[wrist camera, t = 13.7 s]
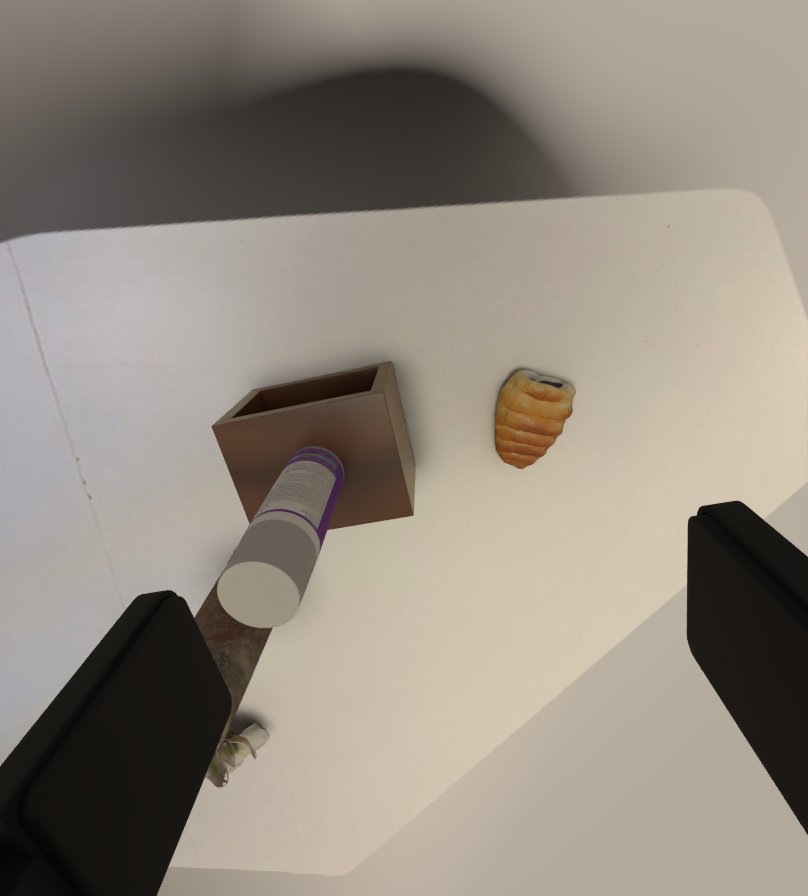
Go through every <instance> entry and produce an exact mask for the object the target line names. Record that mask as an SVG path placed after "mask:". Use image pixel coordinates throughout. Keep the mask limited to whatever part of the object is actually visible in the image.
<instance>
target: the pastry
mask: <svg viewBox="0 0 808 896" xmlns="http://www.w3.org/2000/svg"><path fill="white" fill-rule="evenodd" d="M575 394H576V390H575V388H574V387H573V386H572V385H571V384H567V383H563V382H561V381H560V380H559V379H556V378H553V377H546V376H539V375H537V374H536V373H535V372H533V371H528V370H520V371H517V372H516V373H515V374H513V375H512V376H511V377H510V379H509V380H508V382H507V383H506V384H505V385H504V387H503V388H502V389H501V391H500V394H499V400H498V405H497V410H496V414H495V445H496V451H497V453H498V454H499V456H500V457H501V459H502V460H503V461H504V462H505V463H508V464H510V465H513V466H515V467H516V468H519V469H523V468H525V467H526V466H529V465H532V464H533V463H535V462H536V460H537V459H538V458H540V457H542V456H544V455H545V454H546V452H547V449H548V448H549V447H550V446H552V445H553V444H554V443H555V440H556V438H557V436H559V435H560V434H561V433H562V431H563V426H564V423H565V420H566V419H567V418H569V417H570V416H571V414H572V411H573V409H572V401H573V397H574V395H575Z"/></svg>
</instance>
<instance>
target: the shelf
mask: <svg viewBox="0 0 808 896" xmlns="http://www.w3.org/2000/svg"><path fill="white" fill-rule="evenodd" d="M212 429H213V431H214V434H215V436H216V439H217V441H218V444H219V447H220V449H221V452H222V454H223V457H224V459H225V462H226V464H227V467H228V470H229V472H230V475H231V477H232V480H233V482H234V485H235V487H236V490H237V493H238V495H239V498H240V500H241V503H242V505H243V508H244V510H245V513H246V515H247V518H248V521H249V523H251V521H252V520H253V518H254V516H255V515H256V513H257V512H258V510H259V508H260V507H261V505H262V503H263V502H264V500H265V498H266V497H267V495H268V494H269V492H270V490H271V489H272V487H273V485H274V484H275V482H276V481H277V479H278V477H279V476H280V474H281V472H282V471H283V469H284V468H285V466H286V464H287V463H288V461H289V460H290V458H291V457H292V455H293V454H294V453H295V452H297V451H298V450H300V449H302V448H304V447H309V446H318V447H323V448H325V449H328V450H330V451H331V452H333V453H334V454H335V455H336V456H337V457H338V458H339V460H340V461H341V463H342V465H343V468H344V480H343V484H342V487H341V490H340V493H339V496H338V499H337V502H336V505H335V508H334V511H333V514H332V517H331V520H330V523H329V526H328V529H327V530H330V529H336V528H342V527H348V526H354V525H360V524H366V523H372V522H378V521H384V520H390V519H396V518H402V517H408V516H413V515H414V492H415V466H416V464H415V460H414V455H413V451H412V447H411V442H410V438H409V433H408V429H407V425H406V420H405V416H404V412H403V407H402V403H401V398H400V394H399V390H398V385H397V381H396V376H395V372H394V368H393V363H392V362H387V363H382V364H377V365H372V366H367V367H362V368H357V369H353V370H348V371H343V372H338V373H333V374H328V375H323V376H318V377H314V378H309V379H304V380H299V381H294V382H289V383H284V384H280V385H275V386H270V387H265V388H260V389H255V390H252V391H251V392H250V393H249V394H247V395H246V396H245V397H244V398H243V399H242V400H241V401H240V402H238V403H237V404H236V405H235V406H234V407H233V408H232V409H230V410H229V411H228V412H227V413H226V414H225V415H224V416H223V417H221V418H220V419H219V420H218V421H217V422H216V423H215V424H214V425H212Z"/></svg>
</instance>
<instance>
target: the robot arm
mask: <svg viewBox="0 0 808 896" xmlns="http://www.w3.org/2000/svg"><path fill="white" fill-rule="evenodd" d="M687 640H688V644H689V647H690V650H691V652H692V655H693V656H694V658H695V660H696V661H697V663H698V664H699V666H700V667H701V669H702V671H703V672H704V674H705V675H706V677H707V678H708V680H709V682H710V683H711V685H712V686H713V688H714V689H715V691H716V693H717V694H718V695H719V697H720V699H721V700H722V702H723V703H724V705H725V707H726V708H727V710H728V711H729V713H730V714H731V716H732V717H733V719H734V720H735V722H736V724H737V725H738V727H739V728H740V730H741V732H742V733H743V735H744V736H745V738H746V739H747V741H748V742H749V744H750V746H751V747H752V749H753V750H754V752H755V753H756V755H757V756H758V758H759V760H760V761H761V763H762V764H763V766H764V767H765V769H766V770H767V772H768V774H769V775H770V777H771V778H772V780H773V781H774V783H775V785H776V786H777V787H778V789H779V791H780V792H781V794H782V795H783V797H784V799H785V800H786V802H787V803H788V805H789V806H790V808H791V809H792V811H793V813H794V814H795V816H796V817H797V819H798V820H799V822H800V824H801V825H802V826H803V828H804V829H805V831H806V833H807V834H808V557H807V556H806V555H805V554H804V553H802V552H801V551H800V550H799V549H798V548H796V547H795V546H794V545H793V544H792V543H791V542H789V541H788V540H787V539H786V538H784V537H783V536H782V535H781V534H780V533H779V532H777V531H776V530H775V529H774V528H773V527H771V526H770V525H769V524H768V523H767V522H765V521H764V520H763V519H762V518H761V517H759V516H758V515H757V514H756V513H755V512H753V511H752V510H751V509H750V508H749V507H747V506H746V505H745V504H744V503H742V502H740V501H731V502H725V503H718V504H712V505H705V506H702V507H700V508H699V510H698V512H697V516H692V517H690V518H689V520H688V562H687ZM231 710H232V697H231V694H230V691H229V689H228V687H227V685H226V683H225V681H224V679H223V677H222V675H221V673H220V671H219V668H218V666H217V664H216V662H215V660H214V658H213V656H212V654H211V652H210V650H209V648H208V646H207V644H206V642H205V640H204V638H203V635H202V633H201V631H200V629H199V627H198V625H197V623H196V621H195V619H194V617H193V615H192V613H191V611H190V609H189V607H188V605H187V603H186V601H185V599H184V598H182V597H180V596H177V594H176V593H174V592H173V591H170V590H166V591H160V592H153V593H147V594H142V595H139V596H138V597H136V598H135V599H134V600H133V602H132V603H131V604H130V605H129V607H128V608H127V609H126V610H125V612H124V613H123V614H122V615H121V617H120V618H119V619H118V620H117V622H116V623H115V624H114V625H113V627H112V628H111V629H110V630H109V632H108V633H107V634H106V635H105V636H104V638H103V639H102V640H101V641H100V643H99V644H98V645H97V646H96V648H95V649H94V650H93V651H92V653H91V654H90V655H89V656H88V658H87V659H86V660H85V661H84V663H83V664H82V665H81V666H80V668H79V669H78V670H77V671H76V673H75V674H74V675H73V676H72V678H71V679H70V680H69V681H68V683H67V684H66V685H65V686H64V688H63V689H62V690H61V691H60V693H59V694H58V695H57V696H56V698H55V699H54V700H53V701H52V703H51V704H50V705H49V706H48V708H47V709H46V710H45V711H44V712H43V714H42V715H41V716H40V717H39V719H38V720H37V721H36V722H35V724H34V725H33V726H32V727H31V729H30V730H29V731H28V732H27V734H26V735H25V736H24V737H23V739H22V740H21V741H20V742H19V744H18V745H17V746H16V747H15V749H14V750H13V751H12V752H11V754H10V755H9V756H8V757H7V759H6V760H5V761H4V762H3V764H2V765H1V766H0V896H157V893H158V891H159V888H160V886H161V884H162V881H163V879H164V876H165V874H166V871H167V869H168V866H169V864H170V861H171V859H172V857H173V854H174V852H175V849H176V847H177V844H178V842H179V839H180V837H181V834H182V832H183V830H184V827H185V825H186V822H187V820H188V817H189V815H190V812H191V810H192V807H193V805H194V803H195V800H196V798H197V795H198V793H199V790H200V788H201V785H202V783H203V780H204V778H205V776H206V773H207V771H208V768H209V766H210V763H211V761H212V758H213V756H214V753H215V751H216V749H217V746H218V744H219V741H220V739H221V736H222V734H223V731H224V729H225V726H226V724H227V722H228V719H229V717H230V714H231Z"/></svg>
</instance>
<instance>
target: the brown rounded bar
mask: <svg viewBox="0 0 808 896" xmlns="http://www.w3.org/2000/svg"><path fill="white" fill-rule="evenodd" d="M223 572H224V571H223ZM223 572H222V573H223ZM221 575H222V574H221ZM220 577H221V576H220ZM220 577H219V579H220ZM219 579H218V580H217V582H216V583H215V585H214V587H213V588H212V590H211V592H210V593H209V595H208V596H207V598H206V600H205V601H204V603H203V605H202V606H201V608H200V609H199V611H198V613H197V614H196V616H195V618H194V619H195V621H196V623H197V625H198V627H199V629H200V631H201V633H202V635H203V638H204V640H205V642H206V644H207V646H208V648H209V650H210V652H211V654H212V656H213V658H214V660H215V662H216V664H217V666H218V668H219V671H220V673H221V675H222V677H223V679H224V681H225V683H226V685H227V687H228V689H229V691H230V694H231V697H232V710H231V714H230V717H229V719H228V722H227V724H226V726H225V729H224V731H223V734H222V736H221V739H220V741H219V744H218V746H217V749H218V748H219V746H220V745H221V744H222V742H223V741H224V739H225V737H226V735H227V733H228V731H229V729H230V726H231V724H232V722H233V719H234V717H235V715H236V712H237V710H238V707H239V705H240V703H241V700H242V698H243V696H244V693H245V691H246V688H247V686H248V684H249V682H250V680H251V677H252V675H253V672H254V670H255V667H256V665H257V663H258V661H259V658H260V656H261V654H262V651H263V649H264V647H265V644H266V642H267V640H268V637H269V635H270V633H271V631H272V628H273V627H272V628H257V627H252V626H248V625H246V624H243V623H241V622H239V621H237V620H236V619H234V618H233V617H232V616H230V615H229V614H228V613H227V612H226V611H225V609H224V608H223V607H222V605H221V603H220V601H219V598H218V594H217V585H218V581H219Z"/></svg>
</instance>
